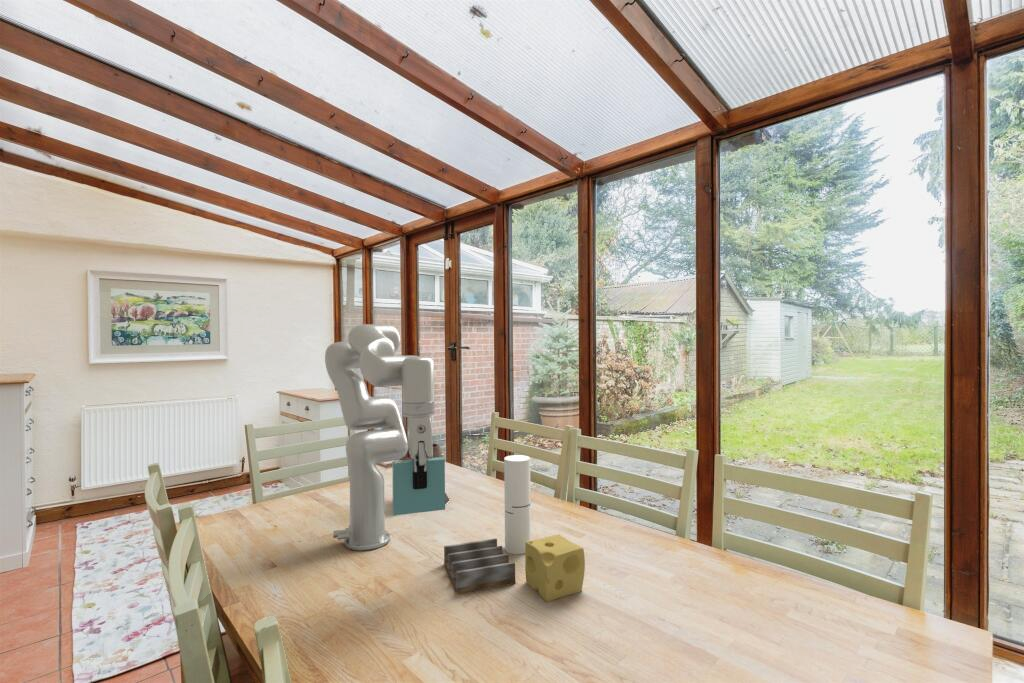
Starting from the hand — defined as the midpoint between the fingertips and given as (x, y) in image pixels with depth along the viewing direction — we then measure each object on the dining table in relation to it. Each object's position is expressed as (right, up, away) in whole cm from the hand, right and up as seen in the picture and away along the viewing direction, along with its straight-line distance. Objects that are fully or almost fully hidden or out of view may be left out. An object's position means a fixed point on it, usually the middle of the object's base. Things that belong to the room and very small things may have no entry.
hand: (419, 485), depth 115 cm
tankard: (-10, -23, +56) cm, 61 cm away
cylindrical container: (+24, -23, +19) cm, 38 cm away
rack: (+14, -23, +5) cm, 27 cm away
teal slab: (0, -6, 0) cm, 6 cm away
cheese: (+32, -23, -2) cm, 39 cm away
